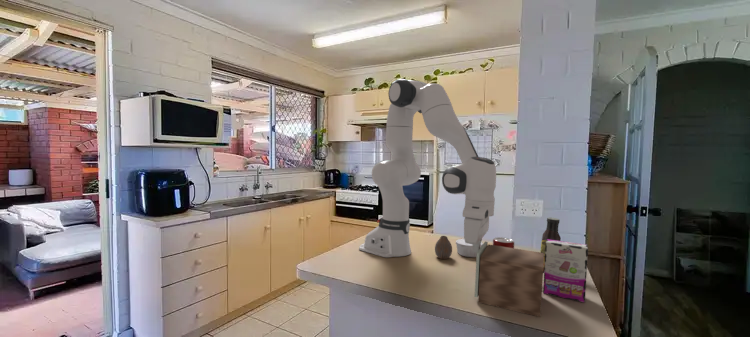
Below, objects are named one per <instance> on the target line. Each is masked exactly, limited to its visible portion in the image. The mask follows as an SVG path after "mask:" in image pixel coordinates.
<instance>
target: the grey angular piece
mask: <svg viewBox="0 0 750 337" xmlns="http://www.w3.org/2000/svg"><path fill="white" fill-rule="evenodd" d="M488 243H489V241H484V242H483V245H482V246H481V248H480V249H479V250H478V252H477V257H475V259H476V262H475V263H476V264H475V279H474V280H475V281H474V283H475V284H474V297H475V298H478V297H479V276H480V256H481V255H482V253H483V252H484V250H485V249H486V247H487V246H488Z"/></svg>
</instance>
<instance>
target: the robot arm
mask: <svg viewBox="0 0 750 337" xmlns="http://www.w3.org/2000/svg"><path fill="white" fill-rule="evenodd" d="M387 94H388V99H389V101H390V105H389V107H388V112H387V117H386V130H385V146H386V148H387V149H388V150H389V151H390V154H391V159H390V160H384V161H380V162H377V163H375V165H373V168H372V170H371V178H372V180H373V182H374V184H375V185H377V187H378V189H379V191H380V194H381V199H382V217H381V218H379V219H377V220H376V221H377V222H376V223H377V224H378V226H376V227H375V228H374V229H372V230H371V231H369V232H368V233H367V234H366V236H365V239H364V243H362V244H360V245H359V246H358V247H359V248H358V250H359V251H362V252H364V253H369V254H372V255H375V256H378V257H382V258H392V257H395V258H396V257H398V258H399V257H405V256H409V255H411V253H412V249H411V244H410V237H409V236H410V235H409V234H410V228H411V226H410V225H411V224H410V218H409V217H410V216H409V215H410V200H409V199H408V198H407V196H406V195H405V193H404V188H403V186H410V185H412V184H415V183H417V182H418V181H419V179H420V178H421V175H422V170H421V168H420V166H419V164H418V163H417V161H416V158H415V155H414V148H413V132H414V116H415V114H416V113H419V114H421V115H422V119H423V122H424V125H425V127H426V129H427V131H428V132H429V133H430V135H432V136H434V137H436V138H439V139H441V140H443V141H445V142H447V143H448V144H449V145H451V146H452V147H453V148H454V149H455V151H456V153H457V155H458V157H459V160H460V161H461V162H460V163H459V164H456V165H452V166H449V167H447V168H446V169H445V170H444V171H443V173H442V177H441V184H442V187H443V188H444V190H445V192H446V193H448V194H452V195H464V196H465V200H464V208H463V210H462V217H463V219H464V220H463V239H464V240H465V243H468V244H472V245H473V252H476V253H477V252H478V250H479V249H480V245H481V242H482V240H483V237H484V236H485V235H486V234H487V232H489V227H490V217H493V216H494V214H495V213H494V212H495V203H496V202H495V195H494V194H495V190H496V186H497V185H496V184H497V169H496V168H497V167H496V164H495V162H494V161H493V160H492V159H489V158H487V157H481V156H479V155H478V153H477V151H476V149H475V146H474V144H473V142H472V140H471V138H470V136H469V134H468V132H467V131H466V129H465V127H464V126H463V125H462V124H461V122H460V121H459V119H458V116H457V114H456V113H455V110H454V107H453V103H452V102H451V99H450V97H449V95H448V94H447V91H446V90H445V88H444V87H443V86H442V85H441V84H440V83H426V82H425V81H424V82H423V81H420V80H413V79H412V80H411V79H404V78H399V79H395V80H394V81H393V82H391V85H390V86H389V89H388V93H387Z"/></svg>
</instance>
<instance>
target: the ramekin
mask: <svg viewBox="0 0 750 337" xmlns="http://www.w3.org/2000/svg"><path fill="white" fill-rule="evenodd" d="M455 244H456V251H457V253H458V254H459V255H460V256H462V257H466V258H477V253H476V252H473V245H472V244H468V243H465V240H464V238H458V239H456V240H455ZM483 244H484V242H482V241H481V245H480V248H481V246H482V245H483Z"/></svg>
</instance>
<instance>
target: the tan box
mask: <svg viewBox="0 0 750 337" xmlns="http://www.w3.org/2000/svg"><path fill="white" fill-rule="evenodd" d="M543 264H544V253H540V251H532V250H526V249H518V248H515V247H514V248H508V247H502V246H495V245H493V244H487V247H486V249H485V250H484V252H483V253H482V255H481V256H480V276H479V296H478V297H477V299H478V300H477V301H478V303H480V304H484V305H489V306H494V307H497V308H501V309H506V310H509V311H513V312H518V313H521V314H526V315H530V316H535V317H538V318H541V316H542V314H541V312H542V297H543V296H542V295H543V283H544V271H543Z"/></svg>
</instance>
